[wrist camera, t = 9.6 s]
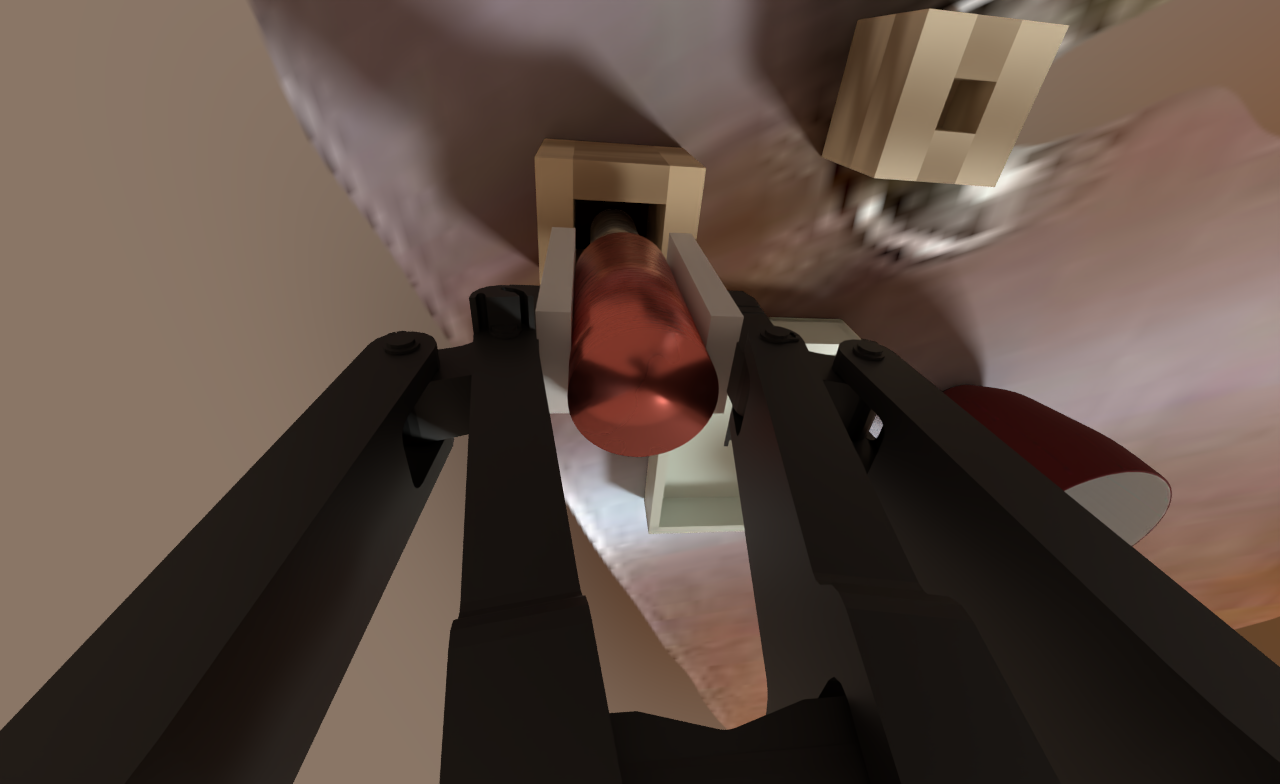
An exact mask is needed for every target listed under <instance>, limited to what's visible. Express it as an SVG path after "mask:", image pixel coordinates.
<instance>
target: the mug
mask: <svg viewBox="0 0 1280 784" xmlns="http://www.w3.org/2000/svg"><path fill="white" fill-rule="evenodd" d="M943 393H944V394H946V395H947V396H948V397H949V398H950V399H952V400H953V401H954V402H955V403H957V404H958V405H959V406H960V407H961V408H963V409H964V410H965V411H966V412H968V413H969V414H970V415H971V416H973V417H974V418H975V419H976V420H977V421H979V422H980V423H981V424H982V425H984V426H985V427H986V428H987V429H988V430H990V431H991V432H992V433H993V434H995V435H996V436H997V437H998V438H999V439H1001V440H1002V441H1003V442H1004V443H1006V444H1007V445H1008V446H1009V447H1011V448H1012V449H1013V450H1014V451H1015V452H1017V453H1018V454H1019V455H1020V456H1022V457H1023V458H1024V459H1025V460H1026V461H1028V462H1029V463H1030V464H1031V465H1033V466H1034V467H1035V468H1036V469H1037V470H1039V471H1040V472H1041V473H1042V474H1044V475H1045V476H1046V477H1047V478H1049V479H1050V480H1051V481H1052V482H1053V483H1055V484H1056V485H1057V486H1058V487H1060V488H1061V489H1062V490H1063V491H1064V492H1066V493H1067V494H1068V495H1069V496H1071V497H1072V498H1073V499H1074V500H1075V501H1077V502H1078V503H1079V504H1080V505H1082V506H1083V507H1084V508H1085V509H1087V510H1088V511H1089V512H1090V513H1091V514H1093V515H1094V516H1095V517H1096V518H1098V519H1099V520H1100V521H1101V522H1102V523H1104V524H1105V525H1106V526H1107V527H1109V528H1110V529H1111V530H1112V531H1113V532H1115V533H1116V534H1117V535H1118V536H1120V537H1121V538H1122V539H1123V540H1125V541H1126V542H1127V543H1128V544H1129V545H1131V546H1133V545H1135V544H1136V543H1138V542H1139V541H1140V540H1141V539H1143V538H1144V537H1145V536H1146V535H1147V534H1148V533H1149V532H1150V531H1151V530H1152V529H1153V528H1154V527H1155V526H1156V525H1157V524H1158V523H1159V522H1160V520H1161V519H1162V518H1163V516H1164V515H1165V513H1166V511H1167V509H1168V508H1169V505H1170V502H1171V497H1172V491H1171V487H1170V484H1169V483H1168V481H1167V480H1166V479H1165V478H1164V477H1163V476H1161V475H1160V474H1159V473H1158V472H1156V471H1155V470H1154V469H1152V468H1151V467H1150V466H1148V465H1147V464H1146V463H1144V462H1143V461H1142V460H1141V459H1139V458H1138V457H1136V456H1135V455H1134V454H1132V453H1131V452H1129V451H1128V450H1127V449H1125V448H1124V447H1123V446H1121V445H1119V444H1118V443H1116V442H1115V441H1113V440H1112V439H1110V438H1108V437H1106V436H1105V435H1103V434H1101V433H1099V432H1097V431H1095V430H1093V429H1091V428H1089V427H1087V426H1085V425H1083V424H1081V423H1079V422H1077V421H1075V420H1073V419H1071V418H1069V417H1067V416H1065V415H1063V414H1061V413H1059V412H1057V411H1055V410H1053V409H1051V408H1049V407H1047V406H1045V405H1043V404H1041V403H1039V402H1037V401H1035V400H1033V399H1031V398H1028V397H1026V396H1024V395H1021V394H1019V393H1016V392H1012V391H1008V390H1003V389H998V388H991V387H983V386H976V385H960V386H955V387H952V388H950V389H948V390H946V391H944V392H943Z"/></svg>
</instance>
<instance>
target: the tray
mask: <svg viewBox="0 0 1280 784" xmlns="http://www.w3.org/2000/svg"><path fill="white" fill-rule="evenodd" d="M768 318H769V320H770V321H771V322H772V324H773V325H774V326H780V327H784V328H786V329H789V330H792V331H794V332H796V333H797V334H799V335H800V336H801V337H802V339H803V340H804V342H805V344H806V346H807V348H808V350H809V351H811V352H815V353H821V354H827V355H832V356H835V355H836V353H837V350H838V347H839V344H840V343H841V342H843V341H845V340H852V339H855V340H861V338H860V337H859V336H858V335H857V334H856V333H855V332H854V331H853V330H852V329H851V328H850V327H849V326H848V325H847V324H846V323H845V322H844V321H843V320H842V319H820V318H784V317H768ZM731 409H732V403H731V401H730V399H729V396H728V395H727V400H726V405H725V409H724V414H713V415H712V417H711V418H710V420H709V421H708V423H707V424H706V426H705V427H704V428H703V429H702V430H701V431H700V432H699V433H698V434H697V435H696V436H695V437H694V438H692V439H691V440H690V441H688V442H687V443H685V444H684V445H682V446H680V447H678V448H676V449H674V450H671V451H668V452H665V453H662V454H658V455H653V456H649V458H648V468H647V477H646V486H645V495H644V503H645V510H646V518H647V525H648V532H649V534H661V533H698V532H736V531H745V529H744V522H743V516H742V509H741V502H740V495H739V489H738V482H737V475H736V468H735V462H734V455H733V448H732V441H731V440H730V441H729V444H728V447H727V446H724V441H725V436H726V432H727V427H728V423H729V418H730V414H731Z"/></svg>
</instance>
